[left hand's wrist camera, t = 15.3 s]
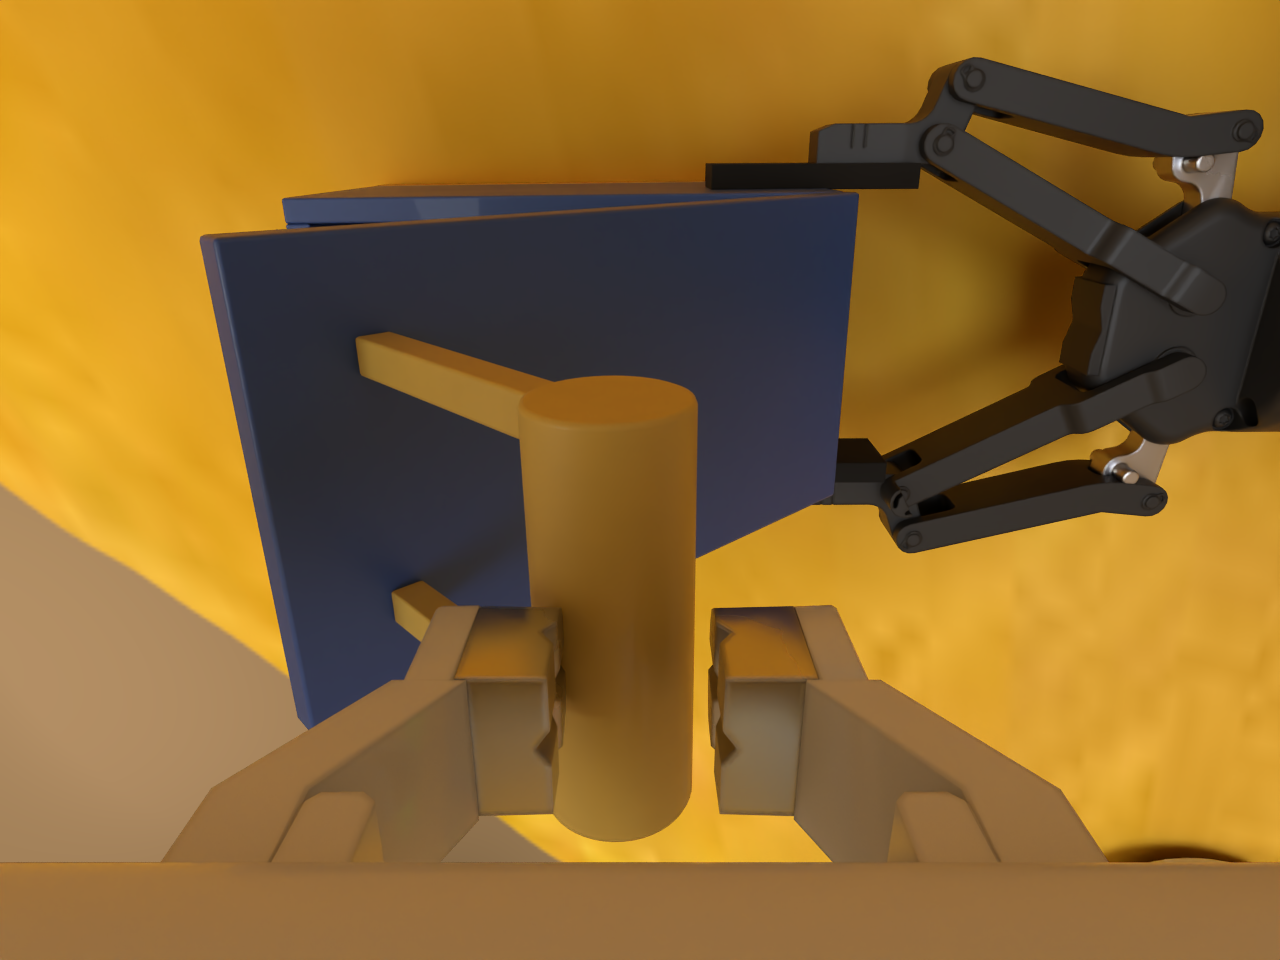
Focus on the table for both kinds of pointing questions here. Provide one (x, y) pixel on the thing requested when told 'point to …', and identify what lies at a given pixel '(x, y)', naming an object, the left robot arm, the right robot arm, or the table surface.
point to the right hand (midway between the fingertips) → (704, 327)
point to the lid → (534, 443)
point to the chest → (496, 200)
